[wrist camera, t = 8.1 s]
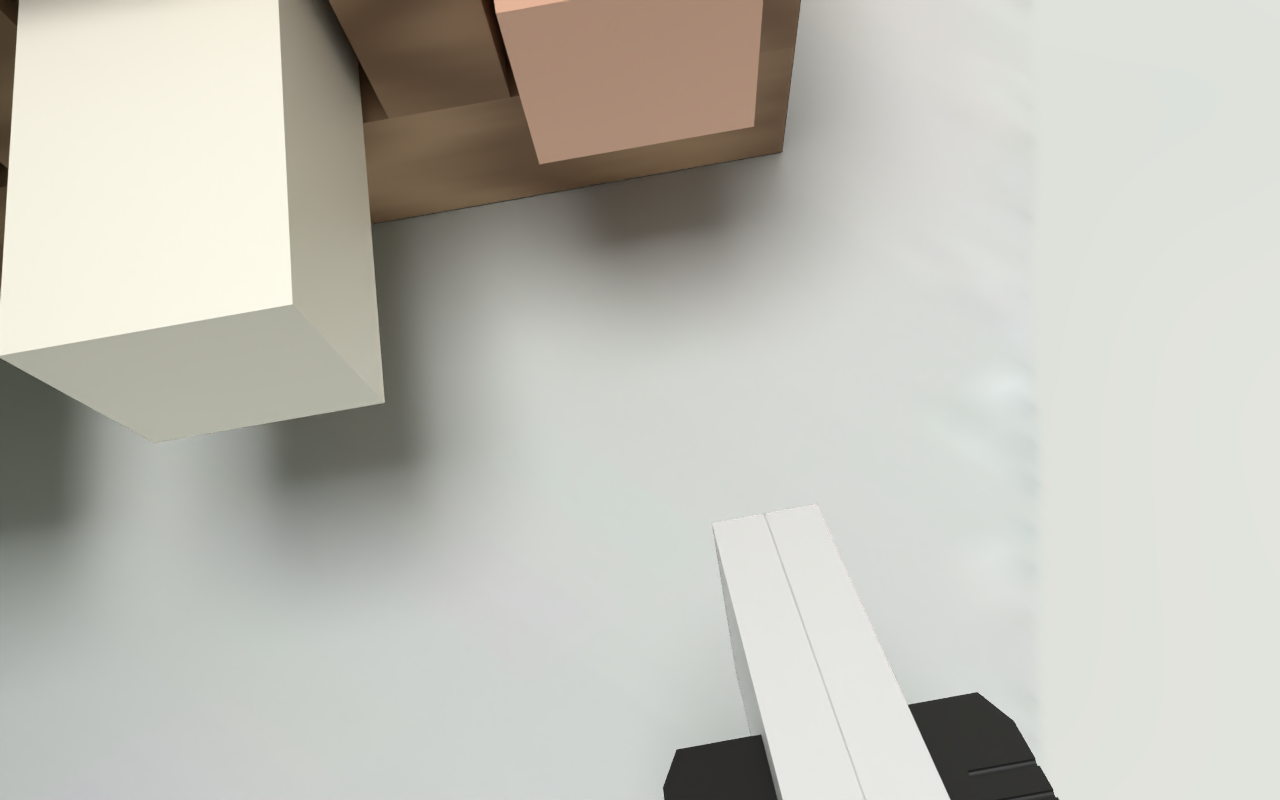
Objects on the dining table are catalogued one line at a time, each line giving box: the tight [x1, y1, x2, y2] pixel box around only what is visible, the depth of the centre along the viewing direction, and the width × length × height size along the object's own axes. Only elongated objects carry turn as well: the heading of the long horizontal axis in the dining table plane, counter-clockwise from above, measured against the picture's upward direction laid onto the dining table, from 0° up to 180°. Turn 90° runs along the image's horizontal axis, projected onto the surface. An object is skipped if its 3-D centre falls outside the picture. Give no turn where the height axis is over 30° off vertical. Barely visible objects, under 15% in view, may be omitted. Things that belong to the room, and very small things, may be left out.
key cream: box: [0, 0, 385, 443], centre depth 20 cm, size 5×9×5 cm, turn 9°
